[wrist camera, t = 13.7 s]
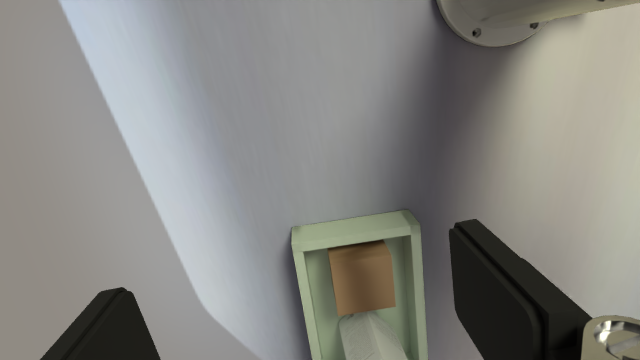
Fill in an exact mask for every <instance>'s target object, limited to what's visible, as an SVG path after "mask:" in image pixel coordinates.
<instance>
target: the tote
mask: <svg viewBox="0 0 640 360" xmlns="http://www.w3.org/2000/svg"><path fill="white" fill-rule="evenodd" d="M380 239H383V240H384V242H385V244H386V246H387V248H388V250H389V251H390V253H391V256H392V267H393V279H394V291H395V302H396V307H391V308H385V309H379V310H373V311H374V312H375V313H377V314H378V315H379V316H380V317H381V318H382V319H384V320H385V321H386V322H387V323H388V324H389V325H391V326H392V327H393V328H394V330H395V332H396V334H397V337H398V339H399V341H400V343H401V346H402V348H403V350H404V353H405V355H406V357H407V359H408V360H428V352H427V334H426V317H425V299H424V282H423V264H422V247H421V229H420V223H419V222H418V221H417V220H416V218H415V217H414V216H413V215H412V213H411V212H410V211H409V210H408V209H407V210H400V211H394V212H387V213H381V214H374V215H368V216H361V217H355V218H349V219H342V220H336V221H329V222H323V223H316V224H310V225H304V226H297V227H292V250H293V255H294V261H295V267H296V272H297V278H298V283H299V289H300V294H301V300H302V305H303V311H304V316H305V322H306V327H307V333H308V338H309V344H310V350H311V355H312V360H346V357H345V352H344V347H343V343H342V338H341V333H340V329H339V324H338V323H339V321H340V320H341V319H342V318H343V317H344V316H345V315H342V316H338V313H337V308H336V302H335V296H334V291H333V284H332V278H331V271H330V264H329V257H328V251H327V248H330V247H336V246H342V245H349V244H355V243H361V242H368V241H374V240H380Z"/></svg>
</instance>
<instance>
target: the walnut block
mask: <svg viewBox="0 0 640 360" xmlns="http://www.w3.org/2000/svg"><path fill="white" fill-rule="evenodd" d="M327 251H328V257H329V264H330V271H331V278H332V284H333V291H334V296H335V302H336V308H337V313H338V316H342V315H348V314H354V313H361V312H367V311H373V310H379V309H385V308H391V307H396V302H395V291H394V279H393V267H392V256H391V253H390V251H389V250H388V248H387V246H386V244H385V242H384V240H383V239H380V240H374V241H368V242H361V243H355V244H349V245H342V246H336V247H330V248H327Z"/></svg>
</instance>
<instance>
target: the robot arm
mask: <svg viewBox="0 0 640 360" xmlns="http://www.w3.org/2000/svg"><path fill="white" fill-rule="evenodd" d="M436 1H437V4H438V7H439V10H440V12H441V15H442V16H443V18H444V20H445V21H446V23H447V25H448V26H449V27H450V28H451V29H452V30H453V31H454V32H455V33H456V34H457V35H459V36H460V37H461V38H463V39H464V40H466V41H468V42H471V43H473V44H475V45H480V46H485V47H499V46H506V45H511V44H514V43H517V42H520V41H523V40H525V39H526V38H528V37H530V36H532V35H533V34H535V33H536V32H537V31H539V30H540V29H541V28H542V27H543V26H545V25H546V24H547V22H548V21H549V20H552V19H557V18H562V17H567V16H573V15H578V14H583V13H588V12H593V11H599V10H604V9H609V8H614V7H619V6H625V5H630V4H635V3H640V0H436ZM473 31H474V36H473V35H472V32H473ZM449 241H450V254H451V266H452V279H453V291H454V303H455V310H456V313H457V316H458V318H459V320H460V322H461V323H462V325H463V326H464V328H465V330H466V331H467V333H468V334H469V336H470V338H471V339H472V341H473V342H474V344H475V346H476V347H477V349H478V350H479V352H480V354H481V355H482V357H483V358H484V360H640V320H637V319H634V318H631V317H624V316H617V315H611V316H600V317H597V318H592V317H591V316H589V315H588V314H587V313H586V312H585V311H584V310H583V309H581V308H580V307H579V306H578V305H577V304H576V303H574V302H573V301H572V300H571V299H570V298H569V297H568V296H566V295H565V294H564V293H563V292H562V291H561V290H560V289H558V288H557V287H556V286H555V285H554V284H553V283H551V282H550V281H549V280H548V279H547V278H546V277H545V276H543V275H542V274H541V273H540V272H539V271H538V270H537V269H535V268H534V267H533V266H532V265H531V264H530V263H528V262H527V261H526V260H524V259H523V258H520V257H519V256H518V255H517V254H516V253H515V252H513V251H512V250H511V249H510V248H509V247H508V246H507V245H505V244H504V243H503V242H502V241H501V240H500V239H499V238H498V237H496V236H495V235H494V234H493V233H492V232H491V231H490V230H488V229H487V228H486V227H485V226H484V225H483V224H482V223H480V222H479V221H478V220H477V219H473V220H467V221H462V222H457V223H455V225H454V228H452V229H450V230H449ZM40 360H160V357H159V354H158V352H157V350H156V347H155V345H154V342H153V340H152V338H151V335H150V333H149V331H148V328H147V326H146V323H145V321H144V318H143V316H142V314H141V311H140V309H139V306H138V304H137V302H136V299H135V297H134V295H133V293H132V292H131V291H127V290H126V289H125V288H123V287H120V288H116V289H110V290H105V291H101V292H100V293H98V294H97V296H96V297H95V298H94V299H93V300H92V301H91V303H90V304H89V305H88V306H87V307H86V308H85V310H84V311H83V312H82V313H81V314H80V315H79V316H78V317H77V318H76V319H75V321H74V322H73V323H72V324H71V325H70V326H69V328H68V329H67V330H66V331H65V332H64V333H63V334H62V335H61V336H60V338H59V339H58V340H57V341H56V342H55V343H54V345H53V346H52V347H51V348H50V349H49V350H48V351H47V352H46V354H45V355H44V356H43V357H42V358H41V359H40Z"/></svg>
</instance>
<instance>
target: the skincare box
mask: <svg viewBox="0 0 640 360" xmlns="http://www.w3.org/2000/svg"><path fill="white" fill-rule="evenodd" d="M338 324H339V329H340V333H341V338H342V343H343V347H344V352H345V357H346V360H408V359H407V357H406V355H405V353H404V350H403V348H402V346H401V343H400V341H399V339H398V337H397V334H396V332H395V330H394V328H393V327H392V326H391V325H389V324H388V323H387V322H386V321H385V320H384V319H382V318H381V317H380V316H379V315H378V314H377V313H375V312H374V311H367V312H361V313H354V314H348V315H345V316H344V317H343V318H342V319H341V320H340V321H339V323H338Z"/></svg>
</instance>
